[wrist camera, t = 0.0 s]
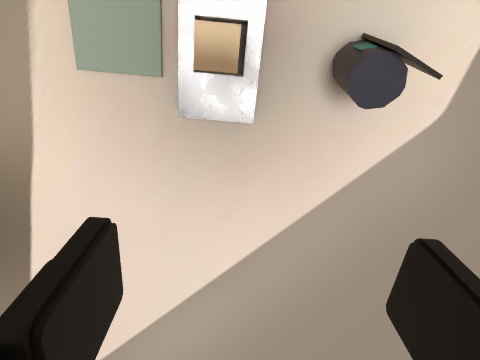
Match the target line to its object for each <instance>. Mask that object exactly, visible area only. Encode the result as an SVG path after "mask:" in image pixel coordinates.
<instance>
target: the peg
mask: <svg viewBox="0 0 480 360" xmlns="http://www.w3.org/2000/svg"><path fill="white" fill-rule="evenodd" d="M240 33H241V24H231V23H222V22H212V21H202V20H194V60H193V69H194V70H204V71H215V72H225V73H236V74H237V70H238V58H239V46H240Z"/></svg>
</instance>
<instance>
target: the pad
mask: <svg viewBox="0 0 480 360" xmlns="http://www.w3.org/2000/svg"><path fill="white" fill-rule="evenodd" d="M68 3H69V11H70V19H71V26H72V34H73V42H74V50H75V58H76V66H77V69H79V70H90V71H100V72H111V73H122V74H133V75H144V76H154V77H162V15H161V0H68Z"/></svg>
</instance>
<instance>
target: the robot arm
mask: <svg viewBox="0 0 480 360" xmlns="http://www.w3.org/2000/svg"><path fill="white" fill-rule="evenodd" d="M122 295H123V283H122V273H121V263H120V253H119V243H118V233H117V225H116V224H115V223H111V220H110V219H109V218H99V217H89V218H87V219H86V221H85V222H84V223H83V224H82V225H81V226H80V228H79V229H78V230H77V231H76V232H75V234H74V235H73V236H72V237H71V238H70V239H69V241H68V242H67V243H66V244H65V245H64V246H63V248H62V249H61V250H60V251H59V252H58V254H57V255H56V256H55V257H54V258H53V259H52V260H50V261H49V262H47V263H46V264H45V265H44V267H43V268H42V269H41V270H40V271H39V272H38V274H37V275H36V276H35V277H34V278H33V279H32V281H31V282H30V283H29V284H28V285H27V286H26V287H25V289H24V290H23V291H22V292H21V293H20V294H19V296H18V297H17V298H16V299H15V301H14V302H13V303H12V304H11V305H10V306H9V307H8V308H7V310H6V311H5V312H4V313H3V314H2V315H1V317H0V360H95V359H96V356H97V354H98V352H99V350H100V347H101V345H102V343H103V341H104V338H105V336H106V334H107V332H108V329H109V327H110V325H111V323H112V320H113V318H114V316H115V314H116V311H117V309H118V307H119V305H120V302H121V300H122ZM386 311H387V314H388V316H389V318H390V320H391V322H392V323H393V325H394V327H395V329H396V331H397V332H398V334H399V336H400V338H401V339H402V341H403V343H404V345H405V347H406V348H407V350H408V352H409V354H410V355H411V357H412V359H413V360H480V279H479V278H478V277H477V276H476V275H475V274H474V273H473V272H472V271H471V270H470V269H469V268H468V267H466V266H465V265H464V264H463V263H462V262H461V261H460V260H459V259H458V258H457V257H456V256H455V255H454V254H453V253H452V252H451V251H450V250H449V249H448V248H447V247H446V246H445V245H443V243H442V242H440V241H439V240H436V239H435V240H434V239H421V238H419V239H416V240H415V241H414V243H411V244H410V245H409V247H408V250H407V252H406V255H405V257H404V260H403V262H402V265H401V267H400V270H399V273H398V275H397V278H396V280H395V283H394V285H393V288H392V291H391V293H390V295H389V298H388V301H387V304H386Z"/></svg>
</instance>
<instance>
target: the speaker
mask: <svg viewBox="0 0 480 360" xmlns="http://www.w3.org/2000/svg"><path fill="white" fill-rule="evenodd" d="M362 37H363V38H365V39H366V40H368V41H366V40H363V41H356V42H350V43H349V44H347V45H346V46H345V47H344V48H343V49H342V50H340V51H339V52H338V53H337V55H336V57H335V59H334V61H333V77H334V78H335V79H336V81H337V82H338V83H339V84H340V86H341V87H342V88H343V89H344V90H345V92H346V93H347V94H348V95H349V96H350V97H351V99H352V100H353V101H354V102H355V103H356V104H357V105H358V106H359V107H361V108H364V109H372V108H381V107H385V106H386V105H387V104H389V103H390V102H392V101H393V100H394V99H396V98H397V97H398V96H400V94H401V93H402V91H403V90H404V88H405V84H406V78H407V72H408V68H407V67H406V65H405V63H406V64H408V65H410V66H412V67H414V68H416V69H418V70H420V71H422V72H424V73H427V74H429V75H431V76H433V77H435V78H437V79H439V80H440V78H441V77H442V76H443V75H441V74H440V73H438V72H437V71H435V70H434V69H432V68H431V67H429V66H428V65H426V64H425V63H423V62H422V61H420V60H419V59H417V58H416V57H414V56H413V55H411V54H410V53H408V52H407V51H405V50H404V49H402V48H401V47H399V46H397V45H394V44H392V43H389V42H386V41H384V40H381V39H378V38H376V37H373V36H370V35H368V34H365V33H364V34H363V35H362Z"/></svg>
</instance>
